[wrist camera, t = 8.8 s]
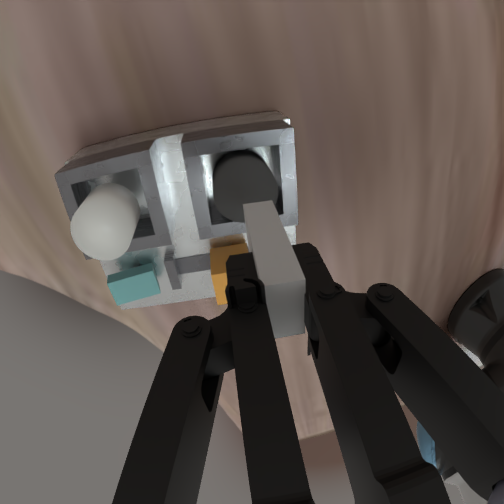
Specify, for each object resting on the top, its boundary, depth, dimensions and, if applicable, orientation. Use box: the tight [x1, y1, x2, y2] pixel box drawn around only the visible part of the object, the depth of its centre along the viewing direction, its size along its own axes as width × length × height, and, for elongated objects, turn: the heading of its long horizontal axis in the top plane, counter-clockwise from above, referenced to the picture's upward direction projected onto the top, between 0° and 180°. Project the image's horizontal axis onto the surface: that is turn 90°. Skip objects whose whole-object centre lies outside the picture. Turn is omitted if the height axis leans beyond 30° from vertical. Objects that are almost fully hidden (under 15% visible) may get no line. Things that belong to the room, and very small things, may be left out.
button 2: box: [212, 150, 278, 223], centre depth 21 cm, size 4×4×3 cm
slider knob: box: [210, 243, 249, 305], centre depth 25 cm, size 3×3×4 cm
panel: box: [55, 111, 298, 310], centre depth 25 cm, size 15×17×7 cm
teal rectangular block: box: [107, 263, 161, 306], centre depth 25 cm, size 2×4×1 cm, turn 96°
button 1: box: [70, 183, 140, 261], centre depth 19 cm, size 4×4×3 cm
